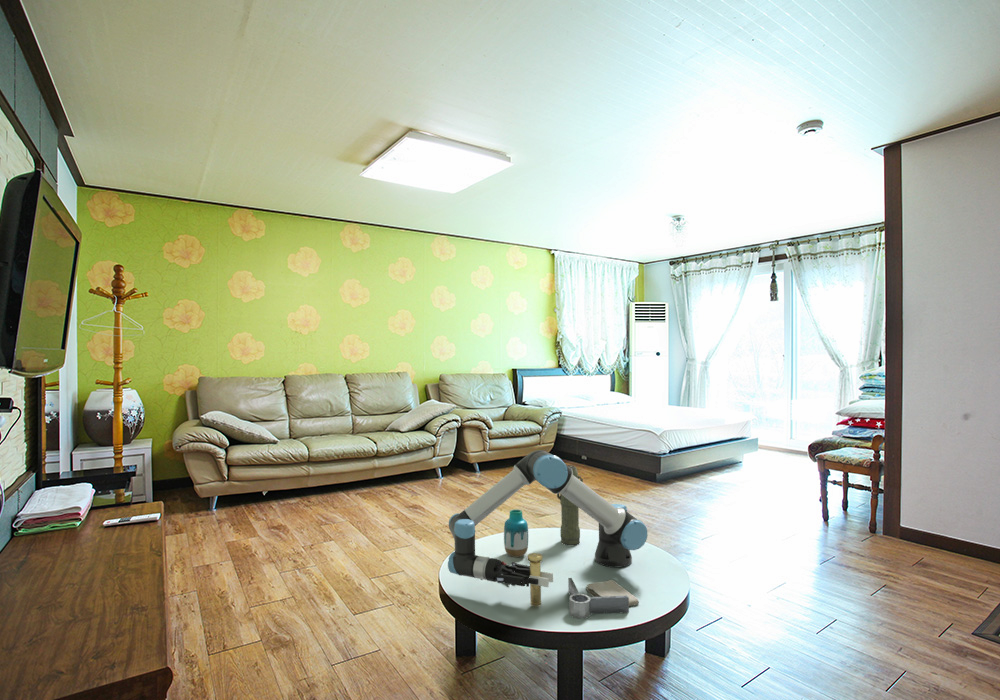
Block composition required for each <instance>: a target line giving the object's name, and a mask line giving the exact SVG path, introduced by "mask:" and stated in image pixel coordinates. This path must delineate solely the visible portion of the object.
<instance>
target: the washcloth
mask: <svg viewBox="0 0 1000 700" xmlns="http://www.w3.org/2000/svg"><path fill="white" fill-rule="evenodd" d="M585 588H586V590H587V592H588V593H589V594H590V595H591V597H605V596H628V597H629V607H634V606H637V605H639V604H640V601H639V599H638V598H637V597H636V596H635V595H633V594H632V593H630V592H629V591H628V590H627V589H625V588H624V587H623V586H621V585H620V584H618V583H617V582H616V581H615V580H613V579H609V580H606V581H605V580H604V581H599V582H598V581H597V582H592V583H587V584H586V586H585Z"/></svg>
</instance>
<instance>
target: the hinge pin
mask: <svg viewBox="0 0 1000 700" xmlns="http://www.w3.org/2000/svg"><path fill="white" fill-rule="evenodd" d="M527 560H528V562H529V566H530V575H533V576H538V577H541V572H542V570H541V568H542V567H541V566H542V565H541V562H543V554H541V553H539V552H531V553H528V554H527ZM529 588H530V589H529V590H530V591H529V592H530V594H529V595H530V597H529V598H530V601H529V602H530V605H531V606H533V607H540V606H541V605H542V586H538V585H533V584H530V583H529Z"/></svg>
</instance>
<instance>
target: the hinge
mask: <svg viewBox="0 0 1000 700" xmlns="http://www.w3.org/2000/svg"><path fill="white" fill-rule="evenodd" d="M567 580H568V581H567V583H568V586H567V588H568V594H569V595H570V596H569V598H568V602H569V603H568V607H569V608H568V611H569V612H568V613H569V615H570V616H571V617H572V616H573V618H574V617H575V619H579V620H582V619H587V618H590V617H591V615H598V614H621V613H620V612H623V613H627V612H628V613H630V606H629V597H628V596H605V597H594V596H588V595H587V594H584V593H580V592H579V590H578V588H577V586H576V584H575V582H574V580H573V578H572V577H568V579H567ZM623 613H622V614H623Z"/></svg>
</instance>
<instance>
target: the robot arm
mask: <svg viewBox="0 0 1000 700" xmlns="http://www.w3.org/2000/svg"><path fill="white" fill-rule="evenodd" d="M534 482H538V484H539V485H541V486H542V487H544V488H546V490H548V491H550V492H551V493H552V494H553V495H557V494H558V493H559V495H560V494H562V495H563V496H564V497H566V498H567V499H568V500H569V501H571V502H572V503H573V504H575V505H576V506H577V507H579V510H580V509H581V511H583V512H584V513H585V514H587V515H588V516H589V517H591V518H592V519H593V520H594V521H596V522H597V523H598V542H597V545H596V550H595V552H594V560H595V562H596V563H597V564H599V565H602V566H605V567H609V566H610V568H611V567H613V568H622V567H627V566H629V565H631V564H632V563H633V559H632V558H633V557H632V553H631V551H637V550H639V549H641V548H642V547H643V546H644V545H645V544H646V542H647V540H648V535H649V534H648V527H647V526H646V525H645V523H643V521H642V520H640V519H637V517H634V516H633V515H632V514H631V513H630V512H629V511H628V509H627V508H628V507H627V506H626V505H625V504H622V503H621V504H620V503H610V502H609V501H607V500H606V499H605V498H604V497H602V496H601V495H600V494H598V493H597V492H596V491H595V490H593V489H592V488H591V487H589V486H588V485H587V484H585V483H584V481H583V482H581V481H580V479H578V478H576V477H575V476H574V475H573V471H572V469H571V468H570V467H568V466H567V464H566V463H565V462H564V461H563V460H562V458H560V457H559V456H557V455H554V454H552V453H550V452H548V451H546V450H544V449H543V450H542V449H537V450H533V451H532V452H529V453H528V454H527V455H525V456H524V457H523V458H522V459H520V460H519V461H518V462H517V463H516V464H514V466H513V469H512V470H511V471H510V472H509V473H508V474H506V475H505V476H503V477H502V478H501V479H500V480H499V481H498V482H497V483H496V484H494V485H493V486H492V487H490V488H489V489H488V490H487V491H486V492H484V493H483V494H482V495H480V496H479V497H478V498H477V499H476V500H474V501H473V502H472V503H471V504H470V505H468V506H467V507H466V508H464V510H463V511H461V512H460V513H454V514H453V515H451V516H450V518H449V520H448V529H449V532H450V533H451V535H452V537H453V540H454V551H453V552H451V553H450V554H449V557H448V561H447V569H448V571H449V572H450V573H452V574H454V575H457V576H463V577H469V578H474V579H480V580H481V581H483V580H484V581H488V582H493V583H498V584H506V585H508V584H510V585H514V586H518V587H519V586H520V587H525V586H526V587H527V588H528V587H529V588H530V584H533V585H538V586H541V587H544V588H549V583H553V582H554V573H551V572H545V571H541V577H538V576H533V575H530V565H526V564H521V563H517V562H515V561H512V562H511V565H510V564H508V563H506V565H503V564H502V562H501V561H502V560H501V559H499V558H493V557H489V556H483V555H476V526H477V525H479V524H480V523H481V522H482V521H483V520H485V518H487V517H488V516H489V515H490V514H492V513H493V512H494V511H495V510H497V508H499V507H500V506H501V505H503V504H504V503H505V502H506V501H507V500H509V499H510V498H511V497H512V496H514V495H515V494H516V493H517V492H518V491H520V490H521V489H522V488H523V487H525V486H526V485H527V486H530V485H531V484H532V483H534Z"/></svg>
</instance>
